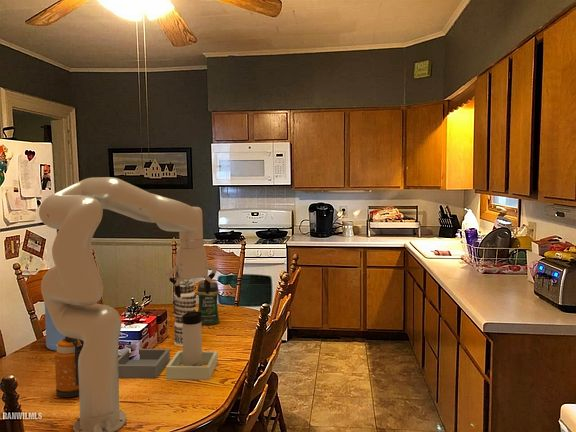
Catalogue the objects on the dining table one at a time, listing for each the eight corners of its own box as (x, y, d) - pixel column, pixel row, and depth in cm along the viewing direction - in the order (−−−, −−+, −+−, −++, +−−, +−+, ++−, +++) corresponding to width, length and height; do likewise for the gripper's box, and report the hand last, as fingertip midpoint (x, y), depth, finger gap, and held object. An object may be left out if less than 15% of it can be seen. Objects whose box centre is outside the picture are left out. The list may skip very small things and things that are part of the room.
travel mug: (198, 375, 146) (197, 315, 144) (180, 373, 147) (178, 314, 146) (205, 367, 152) (205, 310, 150) (187, 366, 153) (186, 309, 152)
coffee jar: (197, 326, 197) (196, 284, 196) (197, 320, 205) (197, 281, 203) (219, 325, 198) (218, 284, 197) (219, 319, 206) (218, 280, 205)
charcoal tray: (156, 378, 143) (155, 366, 143) (110, 377, 144) (110, 365, 143) (169, 360, 158) (169, 349, 158) (128, 359, 159) (128, 348, 158)
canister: (80, 382, 140) (78, 320, 139) (98, 393, 133) (96, 327, 132) (51, 392, 133) (48, 327, 132) (67, 404, 126) (65, 335, 125)
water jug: (36, 349, 169) (33, 277, 167) (66, 336, 184) (63, 269, 182) (71, 353, 165) (68, 278, 163) (98, 339, 180) (96, 271, 178)
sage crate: (209, 379, 142) (209, 367, 142) (166, 379, 143) (166, 367, 142) (217, 362, 156) (217, 351, 156) (178, 362, 156) (178, 350, 156)
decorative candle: (200, 338, 180) (199, 278, 179) (192, 346, 171) (191, 283, 170) (178, 338, 181) (177, 277, 180) (170, 346, 172) (168, 282, 170)
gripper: (212, 240, 154) (213, 289, 155) (162, 244, 146) (164, 295, 147) (220, 243, 147) (221, 294, 149) (167, 247, 139) (169, 301, 141)
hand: (192, 294), depth 148 cm, fingers open, 9 cm apart
